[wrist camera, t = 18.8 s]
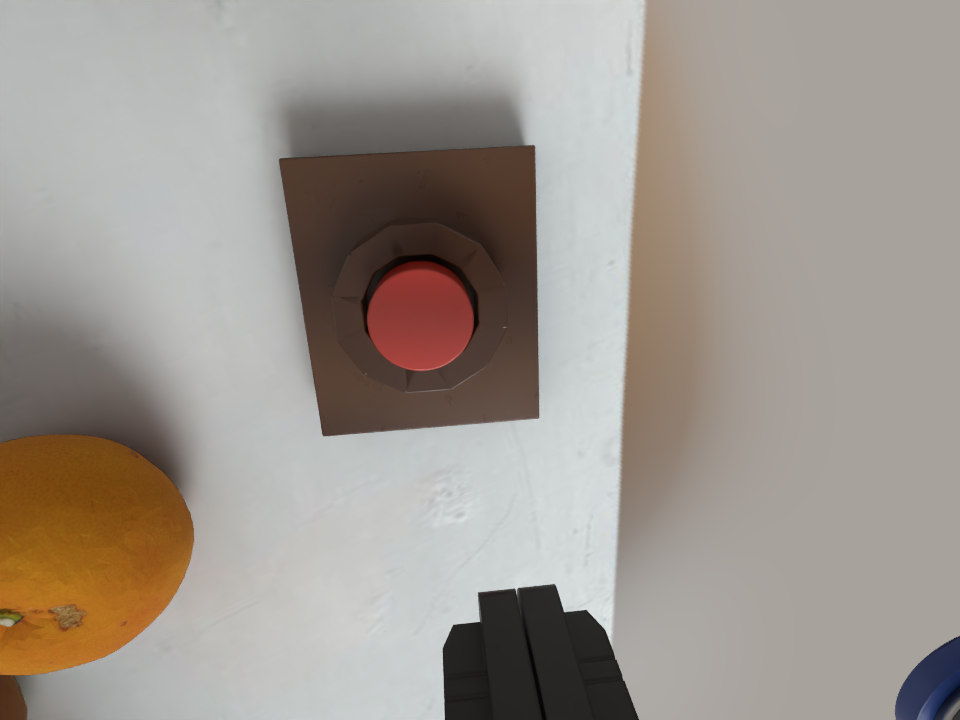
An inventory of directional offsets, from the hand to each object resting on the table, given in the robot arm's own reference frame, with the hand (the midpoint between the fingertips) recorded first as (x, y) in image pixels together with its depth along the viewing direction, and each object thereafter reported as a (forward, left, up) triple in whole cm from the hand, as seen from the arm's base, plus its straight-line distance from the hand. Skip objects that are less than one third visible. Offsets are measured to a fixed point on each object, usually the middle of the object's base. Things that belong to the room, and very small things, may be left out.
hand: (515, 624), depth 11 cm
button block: (+3, 0, -18) cm, 18 cm away
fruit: (+5, +19, -18) cm, 26 cm away
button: (+3, 0, -14) cm, 14 cm away
